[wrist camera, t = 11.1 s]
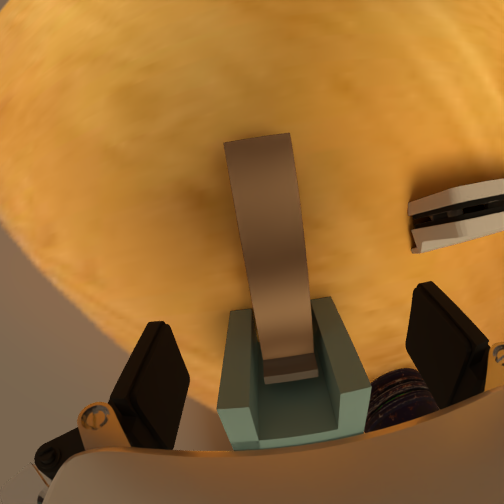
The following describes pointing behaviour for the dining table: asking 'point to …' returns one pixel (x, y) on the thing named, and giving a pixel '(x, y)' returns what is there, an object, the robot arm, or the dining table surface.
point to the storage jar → (398, 399)
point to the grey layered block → (458, 215)
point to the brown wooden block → (274, 253)
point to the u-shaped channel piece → (292, 388)
